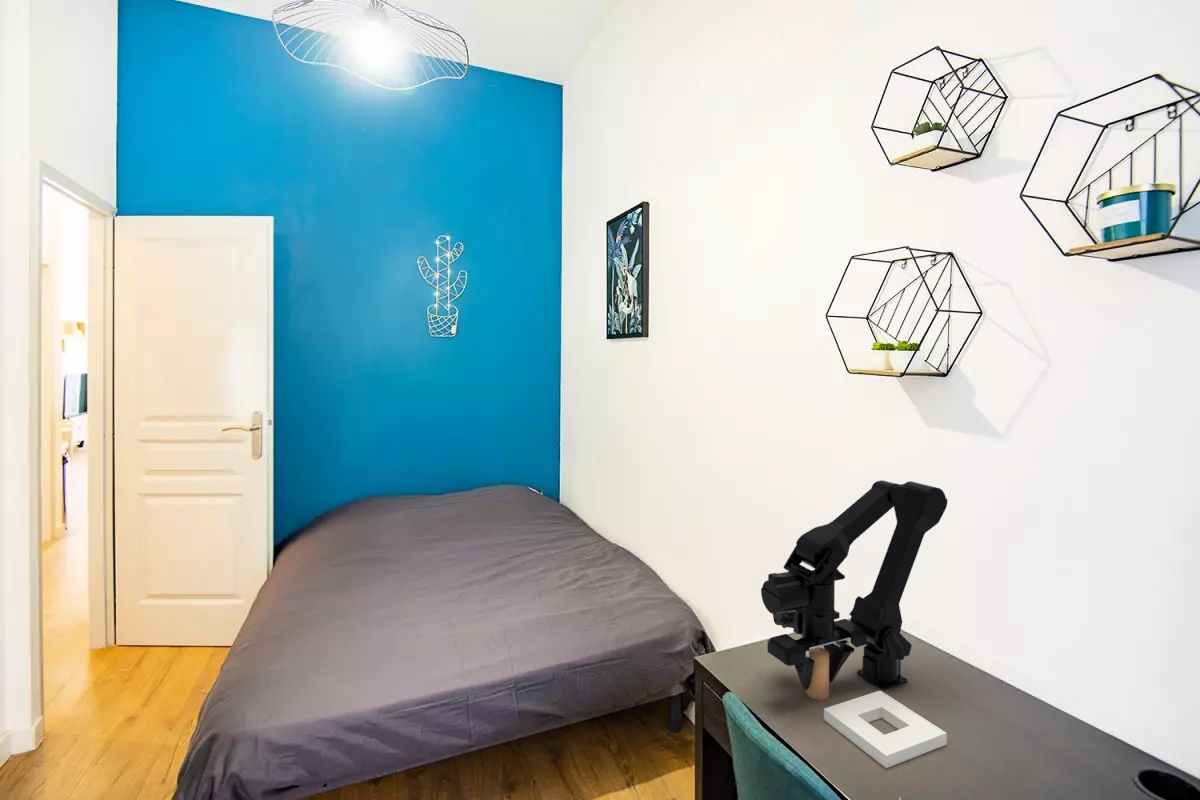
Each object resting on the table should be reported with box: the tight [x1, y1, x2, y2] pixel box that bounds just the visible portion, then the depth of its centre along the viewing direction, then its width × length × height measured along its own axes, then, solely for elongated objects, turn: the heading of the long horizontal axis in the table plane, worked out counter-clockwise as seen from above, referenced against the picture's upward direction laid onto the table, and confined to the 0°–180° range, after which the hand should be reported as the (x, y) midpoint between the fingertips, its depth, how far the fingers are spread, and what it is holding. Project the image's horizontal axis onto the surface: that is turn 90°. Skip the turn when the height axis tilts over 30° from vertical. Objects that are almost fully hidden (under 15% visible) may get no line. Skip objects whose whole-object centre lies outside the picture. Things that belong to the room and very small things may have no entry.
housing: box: [823, 690, 948, 769], centre depth 98 cm, size 13×13×2 cm
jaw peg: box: [805, 646, 830, 701], centre depth 109 cm, size 4×4×8 cm
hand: (817, 685), depth 109 cm, fingers open, 5 cm apart
